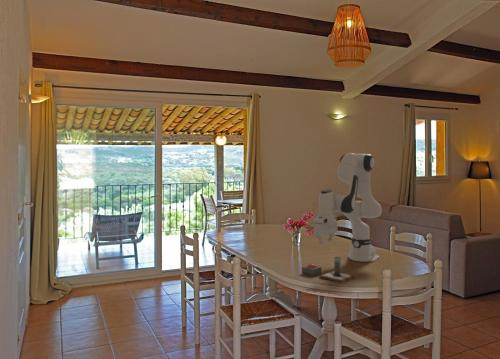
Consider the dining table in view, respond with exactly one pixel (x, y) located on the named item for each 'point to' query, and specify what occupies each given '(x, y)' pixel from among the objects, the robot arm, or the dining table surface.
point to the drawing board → (336, 277)
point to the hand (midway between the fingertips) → (325, 242)
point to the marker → (337, 266)
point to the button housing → (311, 270)
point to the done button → (311, 265)
